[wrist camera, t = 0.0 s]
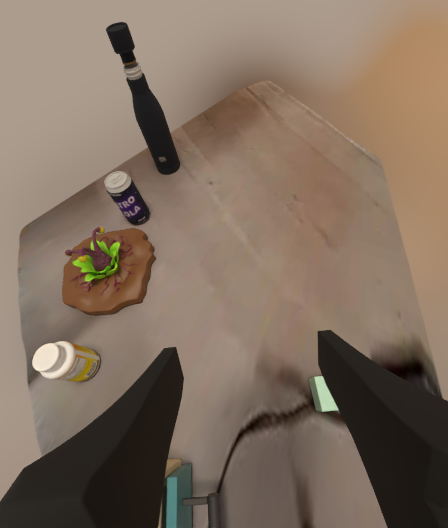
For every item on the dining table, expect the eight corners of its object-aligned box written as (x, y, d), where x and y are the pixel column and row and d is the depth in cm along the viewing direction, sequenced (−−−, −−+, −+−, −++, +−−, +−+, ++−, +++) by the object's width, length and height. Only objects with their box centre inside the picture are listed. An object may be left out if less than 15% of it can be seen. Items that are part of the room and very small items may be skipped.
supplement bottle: (71, 355, 47) (28, 344, 38) (100, 345, 47) (63, 332, 38) (71, 387, 44) (24, 383, 35) (102, 376, 44) (63, 369, 35)
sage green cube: (345, 408, 38) (355, 408, 34) (315, 410, 38) (322, 411, 34) (336, 376, 40) (344, 373, 36) (308, 379, 40) (314, 376, 36)
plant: (58, 322, 50) (11, 303, 41) (76, 243, 60) (41, 212, 50) (154, 308, 50) (129, 284, 40) (156, 230, 59) (137, 196, 49)
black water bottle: (172, 155, 72) (124, 16, 46) (184, 166, 69) (140, 24, 43) (153, 166, 71) (93, 28, 45) (164, 178, 68) (107, 38, 42)
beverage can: (124, 219, 62) (97, 182, 52) (141, 204, 64) (118, 166, 53) (138, 229, 60) (113, 193, 50) (155, 214, 62) (134, 176, 51)
